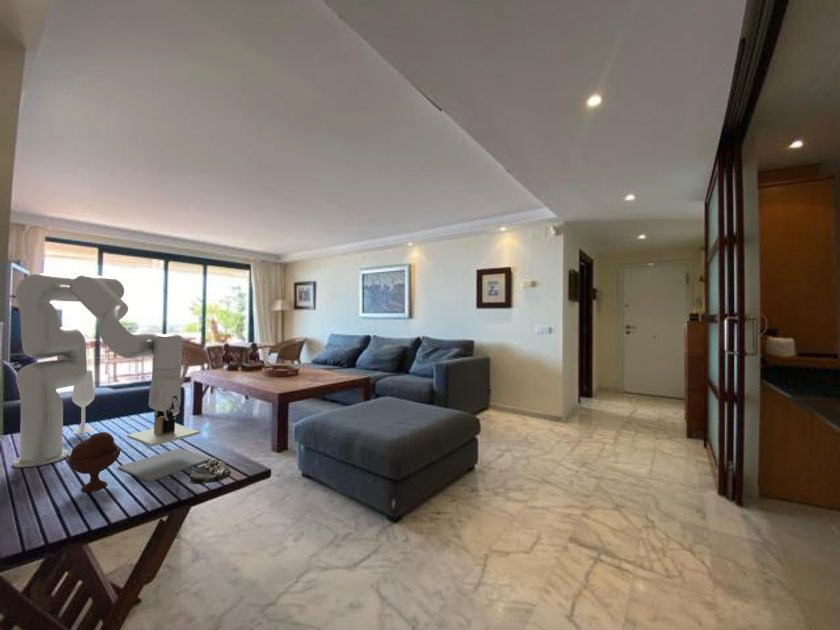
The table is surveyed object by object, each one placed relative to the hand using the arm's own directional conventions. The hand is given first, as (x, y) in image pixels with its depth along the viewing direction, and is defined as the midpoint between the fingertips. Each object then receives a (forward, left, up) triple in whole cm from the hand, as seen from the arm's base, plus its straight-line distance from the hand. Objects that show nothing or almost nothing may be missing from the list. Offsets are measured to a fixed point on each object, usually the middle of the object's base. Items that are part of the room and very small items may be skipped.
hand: (164, 430), depth 116 cm
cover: (0, 0, -2) cm, 2 cm away
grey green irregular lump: (+20, +3, -11) cm, 23 cm away
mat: (+1, 0, -11) cm, 11 cm away
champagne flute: (-61, +1, -11) cm, 62 cm away
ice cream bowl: (0, -18, -11) cm, 21 cm away
